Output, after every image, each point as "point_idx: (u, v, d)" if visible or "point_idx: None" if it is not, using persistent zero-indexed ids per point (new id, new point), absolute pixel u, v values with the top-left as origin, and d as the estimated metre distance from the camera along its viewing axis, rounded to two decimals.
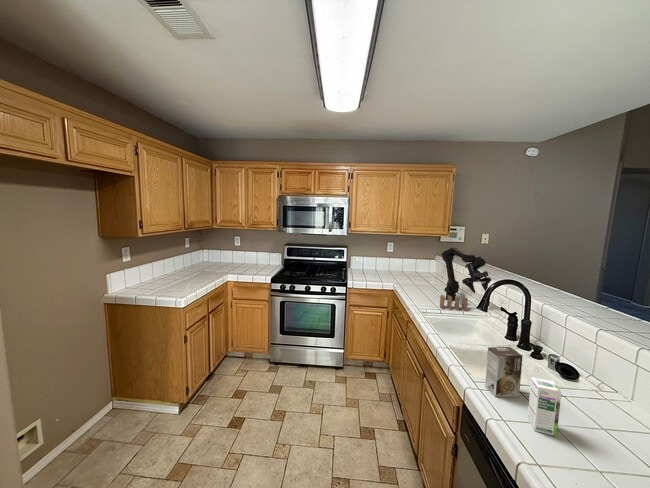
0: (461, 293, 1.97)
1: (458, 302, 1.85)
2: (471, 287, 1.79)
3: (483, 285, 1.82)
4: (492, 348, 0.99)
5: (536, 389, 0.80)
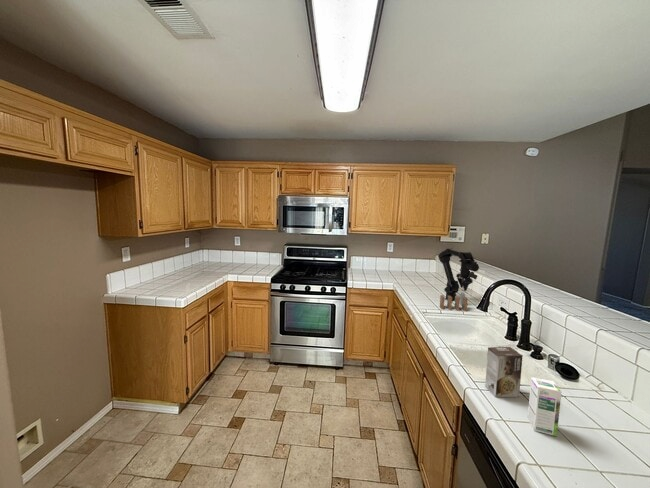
0: (461, 293, 1.97)
1: (458, 302, 1.85)
2: (466, 286, 1.90)
3: (460, 280, 2.01)
4: (492, 348, 0.99)
5: (536, 389, 0.80)
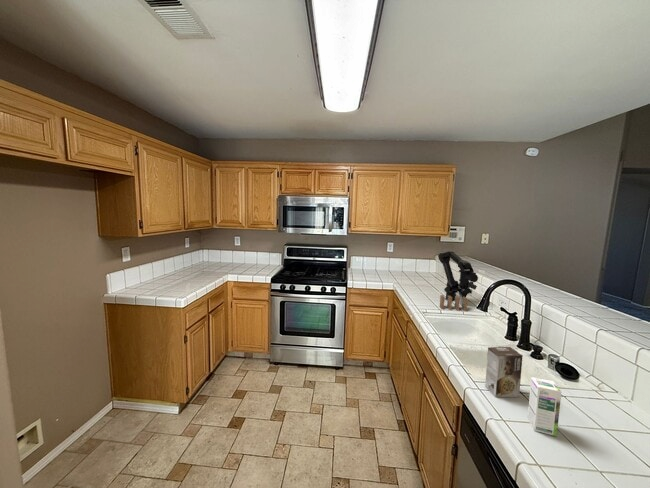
0: None
1: (458, 302, 1.85)
2: (464, 295, 1.93)
3: (460, 291, 1.99)
4: (492, 348, 0.99)
5: (536, 389, 0.80)
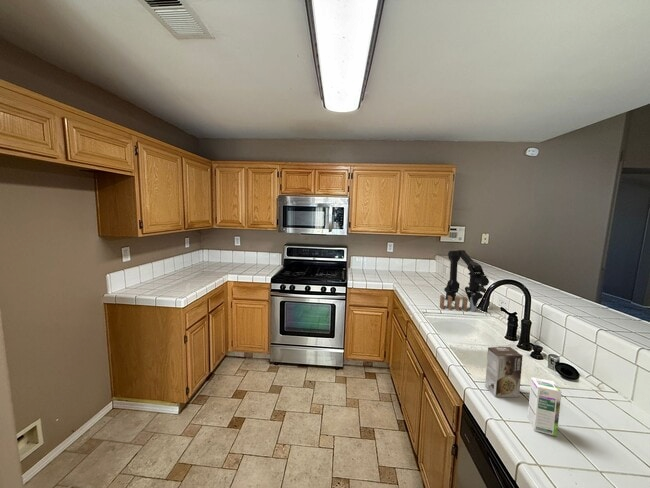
0: (471, 298, 1.86)
1: (458, 302, 1.85)
2: (475, 301, 1.79)
3: (469, 294, 1.89)
4: (492, 348, 0.99)
5: (536, 389, 0.80)
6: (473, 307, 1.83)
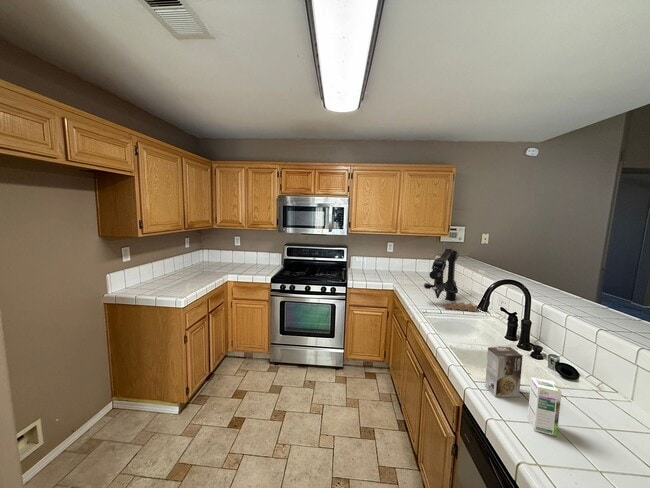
0: None
1: (469, 307, 1.83)
2: (435, 293, 1.89)
3: (438, 290, 1.90)
4: (492, 348, 0.99)
5: (536, 389, 0.80)
6: None
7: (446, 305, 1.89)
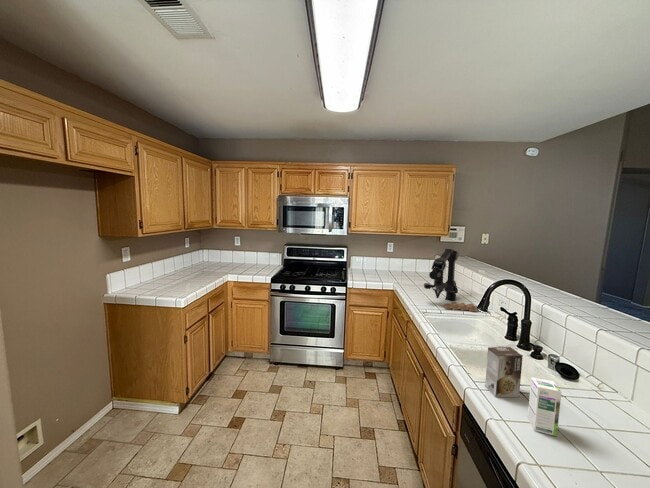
0: None
1: (470, 307, 1.83)
2: (435, 293, 1.90)
3: (438, 290, 1.90)
4: (492, 348, 0.99)
5: (536, 389, 0.80)
6: None
7: (446, 305, 1.88)
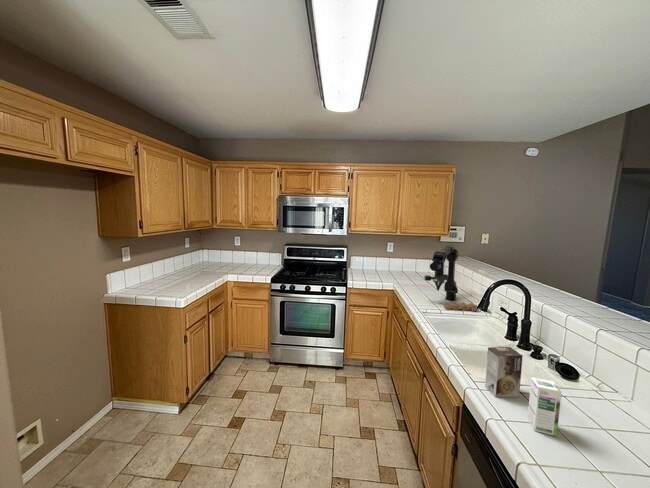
0: (489, 310, 1.84)
1: (471, 307, 1.84)
2: (436, 285, 1.89)
3: (438, 282, 1.90)
4: (492, 348, 0.99)
5: (536, 389, 0.80)
6: None
7: (447, 305, 1.88)
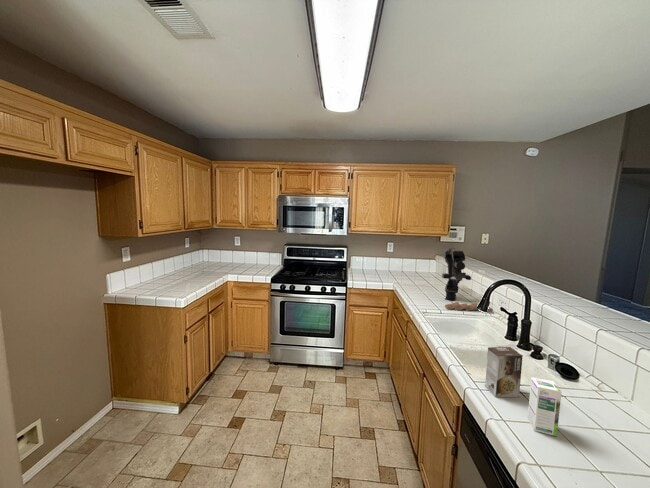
0: None
1: (475, 307, 1.83)
2: (453, 282, 1.96)
3: (456, 280, 1.97)
4: (492, 348, 0.99)
5: (536, 389, 0.80)
6: None
7: (448, 305, 1.88)
